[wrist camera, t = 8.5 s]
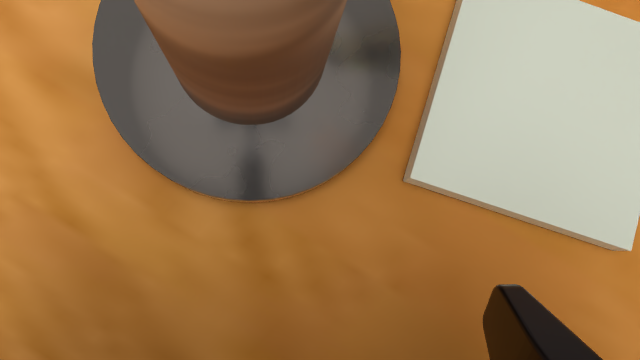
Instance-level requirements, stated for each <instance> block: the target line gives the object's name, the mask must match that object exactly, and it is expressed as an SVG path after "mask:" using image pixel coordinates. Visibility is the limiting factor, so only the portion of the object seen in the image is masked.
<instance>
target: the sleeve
mask: <svg viewBox="0 0 640 360" xmlns="http://www.w3.org/2000/svg"><path fill="white" fill-rule="evenodd" d="M134 2H135V4H136V5H137V7H138V9H139V11H140V12H141V14H142V16H143V18H144V20H145V21H146V23H147V25H148V27H149V29H150V30H151V32H152V34H153V36H154V38H155V39H156V41H157V43H158V45H159V46H160V48H161V50H162V52H163V54H164V55H165V57H166V59H167V61H168V63H169V64H170V66H171V68H172V70H173V71H174V73H175V75H176V77H177V79H178V80H179V82H180V84H181V86H182V88H183V89H184V91H185V92H186V93H187V95H188V96H189V97H190V98H191V99H192V100H193V101H194V103H195V104H196V105H198V106H199V107H200V108H201V109H203V110H204V111H205V112H207V113H209V114H210V115H212V116H214V117H216V118H219V119H221V120H223V121H227V122H230V123H234V124H241V125H260V124H266V123H270V122H274V121H277V120H279V119H282V118H284V117H286V116H288V115H290V114H292V113H293V112H294V111H296V110H297V109H299V108H300V107H301V106H302V105H303V104H304V103H305V102H306V101H307V100H308V99H309V98H310V96H311V95H312V94H313V92H314V91H315V89H316V88H317V86H318V84H319V81H320V79H321V77H322V74H323V71H324V68H325V65H326V62H327V59H328V56H329V53H330V50H331V47H332V44H333V41H334V38H335V35H336V32H337V29H338V26H339V23H340V20H341V17H342V14H343V11H344V8H345V5H346V2H347V0H134Z"/></svg>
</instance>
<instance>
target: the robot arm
mask: <svg viewBox="0 0 640 360" xmlns="http://www.w3.org/2000/svg"><path fill="white" fill-rule="evenodd" d="M483 329H484V334H485V338H486V343H487V348H488V352H489V357H490V360H603V359H602V358H601V357H599V356H598V355H597V354H596V353H595V352H594V351H593V350H592V349H591V348H590V347H588V346H587V345H586V344H585V343H584V342H583V341H582V340H581V339H580V338H578V337H577V336H576V335H575V334H574V333H573V332H572V331H571V330H570V329H569V328H567V327H566V326H565V325H564V324H563V323H562V322H561V321H560V320H559V319H557V318H556V317H555V316H554V315H553V314H552V313H551V312H550V311H549V310H547V309H546V308H545V307H544V306H543V305H542V304H541V303H540V302H539V301H538V300H536V299H535V298H534V297H533V296H532V295H531V294H530V293H529V292H528V291H526V290H525V289H524V288H523V287H521V286H520V285H515V284H510V285H497V286H496V287H494V289H493V291H492V294H491V296H490V299H489V301H488V304H487V307H486V309H485V312H484V315H483Z"/></svg>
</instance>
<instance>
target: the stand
mask: <svg viewBox="0 0 640 360" xmlns="http://www.w3.org/2000/svg"><path fill="white" fill-rule="evenodd" d="M403 181H404V182H407V183H410V184H413V185H416V186H419V187H422V188H425V189H428V190H431V191H434V192H437V193H440V194H443V195H446V196H450V197H453V198H456V199H459V200H462V201H465V202H468V203H471V204H474V205H477V206H480V207H483V208H486V209H489V210H492V211H495V212H498V213H501V214H504V215H507V216H510V217H513V218H516V219H519V220H522V221H525V222H528V223H531V224H534V225H537V226H540V227H543V228H546V229H549V230H552V231H555V232H558V233H561V234H564V235H567V236H570V237H573V238H576V239H579V240H582V241H585V242H588V243H591V244H594V245H597V246H600V247H604V248H607V249H610V250H613V251H631V249H632V245H633V241H634V236H635V232H636V228H637V224H638V219H639V215H640V22H637V21H634V20H632V19H629V18H626V17H623V16H620V15H618V14H615V13H612V12H609V11H606V10H604V9H601V8H598V7H595V6H593V5H590V4H587V3H584V2H581V1H579V0H457V1H456V4H455V7H454V11H453V14H452V17H451V21H450V24H449V27H448V31H447V34H446V37H445V41H444V44H443V48H442V51H441V54H440V58H439V61H438V64H437V68H436V71H435V74H434V78H433V81H432V84H431V88H430V91H429V95H428V98H427V101H426V105H425V108H424V111H423V115H422V118H421V121H420V125H419V128H418V131H417V135H416V138H415V142H414V145H413V148H412V152H411V155H410V158H409V162H408V165H407V168H406V172H405V175H404V178H403Z"/></svg>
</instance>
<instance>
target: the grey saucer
mask: <svg viewBox="0 0 640 360" xmlns="http://www.w3.org/2000/svg"><path fill="white" fill-rule="evenodd" d="M92 45H93V66H94V72H95V78H96V83H97V87H98V90H99V93H100V96H101V99H102V102H103V104H104V107H105V109H106V111H107V113H108V115H109V117H110V119H111V121H112V123H113V124H114V126H115V127H116V129H117V130H118V132H119V133H120V135H121V136H122V138H123V139H124V140H125V141H126V142H127V144H128V145H129V146H130V147H131V148H132V149H133V150H134V152H135V153H136V154H137V155H138V156H140V157H141V158H142V159H143V160H144V161H145V162H146V163H148V164H149V165H150V166H151V167H152V168H154V169H155V170H157V171H158V172H160V173H161V174H163V175H164V176H166V177H167V178H169V179H170V180H172V181H174V182H175V183H177V184H179V185H181V186H183V187H185V188H187V189H189V190H191V191H193V192H196V193H199V194H202V195H205V196H208V197H211V198H216V199H221V200H226V201H231V202H246V203H256V202H270V201H275V200H281V199H286V198H290V197H293V196H296V195H299V194H302V193H305V192H307V191H310V190H312V189H314V188H316V187H318V186H320V185H322V184H324V183H325V182H327V181H328V180H330V179H331V178H333V177H334V176H336V175H337V174H339V173H340V172H341V171H342V170H343V169H345V168H346V167H347V166H348V165H349V164H350V163H351V162H353V161H354V160H355V159H356V158H357V157H358V156H359V155H360V154H361V153H362V152H363V150H364V149H365V148H366V147H367V146H368V145H369V144H370V142H371V141H372V140H373V138H374V137H375V135H376V134H377V132H378V131H379V129H380V128H381V126H382V125H383V122H384V120H385V118H386V116H387V114H388V112H389V110H390V108H391V105H392V102H393V99H394V96H395V92H396V89H397V84H398V78H399V73H400V55H401V50H400V39H399V31H398V26H397V22H396V18H395V14H394V11H393V8H392V5H391V3H390V0H347V2H346V5H345V8H344V11H343V14H342V17H341V20H340V23H339V26H338V29H337V32H336V35H335V38H334V41H333V44H332V47H331V50H330V53H329V56H328V59H327V62H326V65H325V68H324V71H323V74H322V77H321V79H320V81H319V84H318V86H317V88H316V89H315V91H314V92H313V94H312V95H311V96H310V98H309V99H308V100H307V101H306V102H305V103H304V104H303V105H302V106H301V107H300V108H299V109H297V110H296V111H294V112H293V113H292V114H290V115H288V116H286V117H284V118H282V119H279V120H277V121H274V122H270V123H266V124H260V125H241V124H234V123H230V122H227V121H223V120H221V119H219V118H216V117H214V116H212V115H210V114H209V113H207V112H205V111H204V110H203V109H201V108H200V107H199V106H198V105H196V104H195V103H194V101H193V100H192V99H191V98H190V97H189V96H188V95H187V93H186V92H185V91H184V89H183V88H182V86H181V84H180V82H179V80H178V79H177V77H176V75H175V73H174V71H173V70H172V68H171V66H170V64H169V63H168V61H167V59H166V57H165V55H164V54H163V52H162V50H161V48H160V46H159V45H158V43H157V41H156V39H155V38H154V36H153V34H152V32H151V30H150V29H149V27H148V25H147V23H146V21H145V20H144V18H143V16H142V14H141V12H140V11H139V9H138V7H137V5H136V4H135V2H134V0H101V2H100V5H99V9H98V13H97V16H96V20H95V25H94V34H93V43H92Z"/></svg>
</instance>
